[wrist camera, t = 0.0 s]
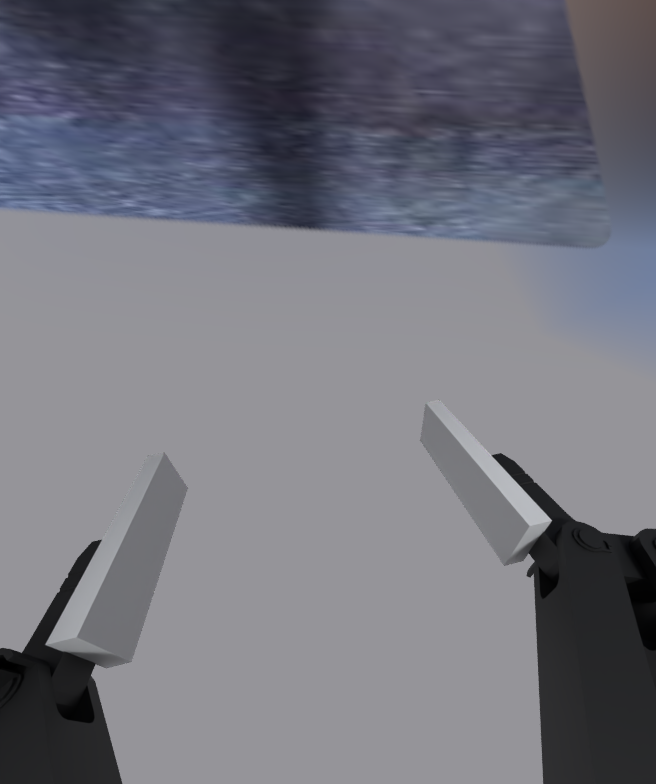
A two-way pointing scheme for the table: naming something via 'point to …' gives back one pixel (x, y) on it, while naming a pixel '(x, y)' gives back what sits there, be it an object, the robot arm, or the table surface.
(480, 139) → the table surface
